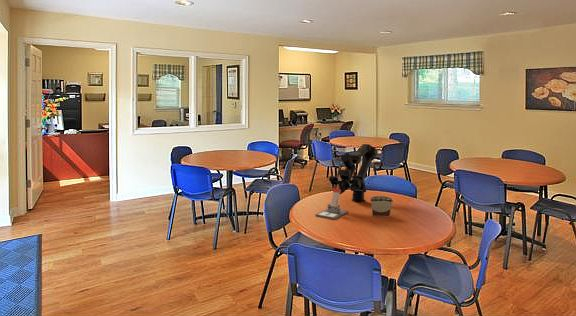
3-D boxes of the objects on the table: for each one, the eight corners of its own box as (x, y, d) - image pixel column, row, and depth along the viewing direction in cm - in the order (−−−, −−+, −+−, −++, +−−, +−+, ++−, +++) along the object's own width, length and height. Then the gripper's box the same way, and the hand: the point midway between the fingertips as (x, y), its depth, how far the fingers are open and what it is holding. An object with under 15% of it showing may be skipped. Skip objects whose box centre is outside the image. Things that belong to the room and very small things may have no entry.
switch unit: (329, 209, 247) (329, 201, 246) (347, 212, 240) (348, 204, 239) (315, 216, 233) (315, 207, 233) (334, 219, 227) (335, 210, 226)
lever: (330, 208, 240) (334, 188, 242) (337, 209, 237) (341, 189, 239) (329, 207, 238) (332, 188, 240) (336, 208, 236) (339, 189, 237)
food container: (390, 213, 238) (391, 196, 237) (392, 216, 232) (393, 198, 231) (368, 212, 240) (369, 195, 238) (369, 216, 234) (370, 198, 232)
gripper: (330, 162, 250) (321, 183, 243) (359, 165, 240) (350, 187, 232) (336, 173, 258) (327, 194, 250) (364, 176, 248) (356, 199, 240)
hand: (340, 193), depth 243 cm, fingers closed
